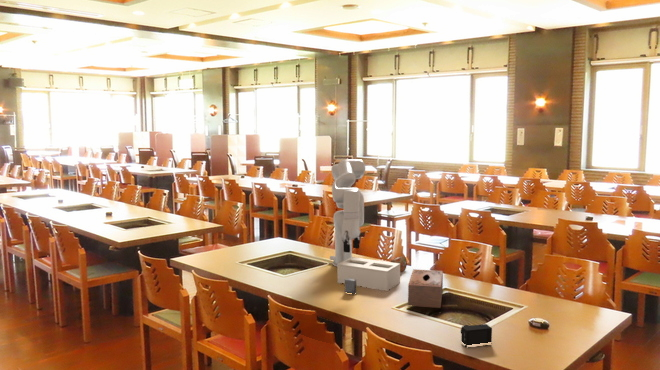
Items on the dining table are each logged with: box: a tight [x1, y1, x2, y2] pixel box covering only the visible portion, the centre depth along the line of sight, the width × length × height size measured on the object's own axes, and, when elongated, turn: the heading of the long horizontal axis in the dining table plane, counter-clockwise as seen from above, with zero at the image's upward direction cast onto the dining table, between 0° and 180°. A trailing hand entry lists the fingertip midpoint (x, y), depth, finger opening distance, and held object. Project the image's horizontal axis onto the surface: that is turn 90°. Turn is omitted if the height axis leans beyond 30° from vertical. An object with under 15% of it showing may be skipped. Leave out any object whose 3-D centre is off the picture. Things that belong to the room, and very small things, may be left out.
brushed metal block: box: [344, 278, 357, 295], centre depth 270 cm, size 5×2×7 cm, turn 60°
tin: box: [390, 256, 408, 274], centre depth 305 cm, size 15×3×8 cm, turn 143°
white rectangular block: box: [337, 256, 401, 292], centre depth 287 cm, size 28×16×10 cm, turn 60°
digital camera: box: [460, 323, 493, 345], centre depth 210 cm, size 10×5×7 cm, turn 103°
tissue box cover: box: [407, 269, 444, 309], centre depth 263 cm, size 26×14×10 cm, turn 167°
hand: (351, 250), depth 270 cm, fingers open, 9 cm apart
